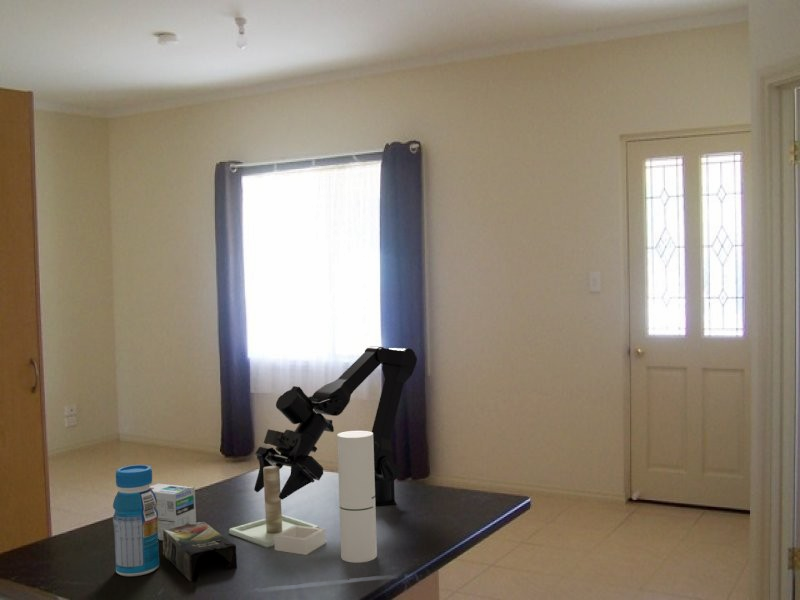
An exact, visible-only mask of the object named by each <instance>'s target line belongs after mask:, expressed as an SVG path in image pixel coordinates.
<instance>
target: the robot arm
mask: <svg viewBox="0 0 800 600" xmlns="http://www.w3.org/2000/svg"><path fill="white" fill-rule="evenodd" d="M417 362H418V357H417V356H416V353H415V351H414V349H411V348H407V347H406V348H405V347H389V348H387V347H383V346H373V345H372V346H368V347H366V349H364V352H363V353H362V354H361V355H360V356H359V357H358V358H357V360H355V361H354V362H353V363H352V364H351V365H350V366H349V367H348V368H347V369H346V370H345V371H344V372H343V373H342V374H341V375H340V376H339V377H338V378H337V379H336V380H334V381H331V382H329V383H326V384H325V385H323V386H321V387H320V388H319V389H317V390H315V392H314V393H313V394H312V395H310V396H308V395H306V394H305V392H304V390H303V389H302V388H301V387H300V386H295V385H293V386H292V387H291V389H289V390H287V391H285V392H284V393H283V394H282V395H280V396H278V398H277V400H276V402H275V407H276V409H277V410H278V411H279V412H280V413H281V414H282V415H283V416H284V417H285V418H286V419H288V421H289V422H290V423H291V424H293V425H297V426H296V428H295V430H291V429H285V431H284V432H282V431H279V430H274V429H269V428H268V429H267V431H266V434H265V436H264V441H263V444H265V445H262V446H261V445H260V446H259V447H258V449H256V452H255V454H254V455H255V456H256V459H257V461H258V463H259V469H258V473H257V478H256V481H255V484H254V488H253V490H254V491H255V492H256V493H259V492H260V491H261V490H263V489H264V474H263V468H264V467H268V466H279V470H281V469H282V468H283V467H284V466H287V467H290V475H289V476H288V478H287V480H286V482H285V483H284V485H283V487H282V488H281V490H280V492H281V493H280V495H279V498H280V499H281V501H283V500H284V499H286V498H288V497H289V496H291V495H292V494H294V493H295V492H297V491H298V490H300V489H302V488H304V487H305V486H308V485H309V484H312V483H314V482H315V481H320V480H321V478H322V477H323V475H324V467H323V466H322V465H321V464H320V463H319V462H318V461H317V460H316V459H315V458H314V457H313V456H311V455H310V454H311V453H316V451H317V450H318V447H317V446H316V445H317V443H318V442H319V441H320V438H321V437H322V436H323V434H324V432H330V433H334V431H335V430H334V428H335V427H334V425H333V420H332V419H327V418H326V417H325V416H324V415H326V416H333V417H334V416H335V417H337V416H340V415H341V414H342V413H343V412H344V410H345V409H346V408H347V406H348V404H349V403H350V402H351V396H352V394H353V393H354V392H355V391H356V389H357V388H358V387H359V386H361V384H362V383H363V382H364V381H365V380H367V378H368V377H370V375H371V374H372V373H374V371H375V370H376V369H377V368H378V367H379V366H380V365H381V370H382V374H383V379H384V382H383V386H382V390H381V393H380V397H379V401H378V405H377V409H376V413H375V417H374V421H373V423H372V424H373V426H372V429H371V432H372V433H373V443H374V475H375V507H377V506H386V505H387V506H388V505H396V504H397V500H396V498H395V497H396V494H395V492H396V491H395V481H396V480H398V479H400V475H401V469H400V468H399V467H398V466H397V465H396V463H395V462H394V461H393V455H394V454H393V453H394V450H393V447H392V442H391V437H392V433H393V429H394V425H395V421H396V417H397V414H398V410H399V409H398V408H399V404H400V402H401V397H402V393H403V388H404V385H405V384H406V382H407V381H408V380H409V379H410V378H411V377H412V375H413V373H414V370H415V367H416V365H417ZM267 445H271V446H274V447H275V449H274V447H270V446H267Z"/></svg>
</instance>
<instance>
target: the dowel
mask: <svg viewBox="0 0 800 600" xmlns="http://www.w3.org/2000/svg"><path fill="white" fill-rule="evenodd" d="M263 474H264V488H263V491H264V492H263V493H264V510H265V511H264V513H265V518H266V532H267V533H271V534H273V533H279V532H281V531H282V515H283V513H282V499H280V498H279V495H280V493H281V477H280V469H279V466H268V467H264V468H263Z"/></svg>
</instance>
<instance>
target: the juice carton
mask: <svg viewBox="0 0 800 600" xmlns="http://www.w3.org/2000/svg"><path fill="white" fill-rule="evenodd" d="M162 549H163V552H162V554H163V555H164V557H165V559H166V560H167V561H169V562H171V563H172V564H173V566H175V567H176V568H175V569H177V570H178V571H179V572H180V573H181V574H182V576H184V577H185V578H186V580H188V581H189V582H190V583H194V582H196V580H193V579H194V574H195V568H196V563H197V561H198V559H199V558H200V556H202V555H203V554H205V553H208V552H211V551H215V552H216V553H217V554H218V555H220V556H221V557H223V558H225V560H226V561H228V564H227V566H226V568H225V571H230V570H234V569H235V570H236V569H237V568H238V565H237V564H238V563H237V562H238V561H237V559H238V558H237V545H236V544H235V543H233V542H232V541H230V540H229V539H228V538H227V537H225V535H222V534H221V533H220V532H218V531H217V530H216V529H214V528H213V527H212V526H211V525H209V524H208V523H206V522H205V521H201V522H200V521H199V522H196V523H194V524H185V525H181V526H179V527H174V528H171V529H166V530H163V540H162Z"/></svg>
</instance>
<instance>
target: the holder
mask: <svg viewBox="0 0 800 600" xmlns="http://www.w3.org/2000/svg"><path fill="white" fill-rule="evenodd" d="M274 543H275V545H274V551H278V552H285V553H286V552H287V553H292V554H298V555H304V556H305V555H306V556H307V555H308V554H309V553H310V554H311V553H312V552H314V551H315V550H316V549H318V548H320V547H321V546H323V545H325V544H326V543H327V542H326V528H320V527H319V528H314V527H306V526H299V525H294V526H292V527H290V528H288V529H286V530H284V531H283V532H281V533H279V534H277V535H275V536H274Z"/></svg>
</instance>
